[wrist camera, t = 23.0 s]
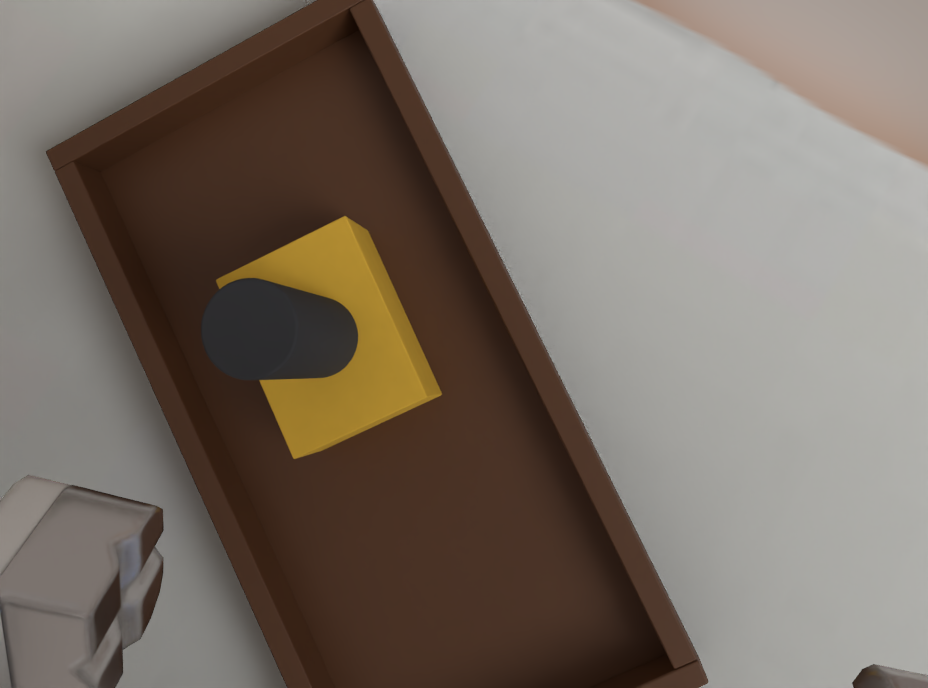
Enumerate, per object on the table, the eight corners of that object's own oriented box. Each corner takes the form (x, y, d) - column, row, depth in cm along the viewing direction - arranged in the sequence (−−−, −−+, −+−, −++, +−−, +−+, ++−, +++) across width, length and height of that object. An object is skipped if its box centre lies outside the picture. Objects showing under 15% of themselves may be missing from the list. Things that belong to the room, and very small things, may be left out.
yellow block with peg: (442, 394, 31) (384, 404, 22) (321, 451, 31) (215, 483, 22) (368, 230, 31) (281, 173, 22) (249, 288, 32) (118, 256, 23)
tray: (699, 658, 30) (709, 683, 27) (372, 802, 31) (354, 838, 29) (376, 5, 32) (358, -24, 29) (83, 167, 33) (44, 151, 31)
